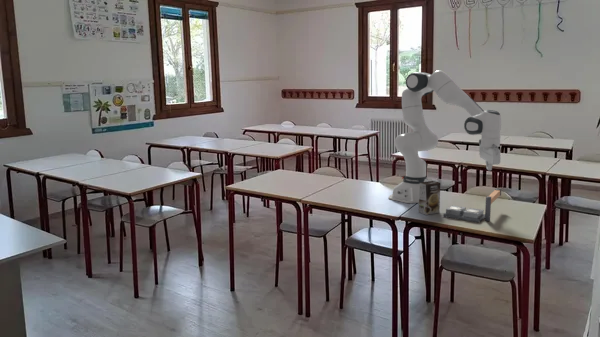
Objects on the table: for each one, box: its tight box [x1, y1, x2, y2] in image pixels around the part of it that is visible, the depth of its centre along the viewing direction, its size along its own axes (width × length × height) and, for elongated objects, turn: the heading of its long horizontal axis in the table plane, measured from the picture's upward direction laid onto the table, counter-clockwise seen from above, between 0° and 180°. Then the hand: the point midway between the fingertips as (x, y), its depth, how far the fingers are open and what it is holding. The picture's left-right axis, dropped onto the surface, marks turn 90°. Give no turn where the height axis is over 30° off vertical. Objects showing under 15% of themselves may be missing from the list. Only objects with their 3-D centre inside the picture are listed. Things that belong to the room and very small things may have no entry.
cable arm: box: [484, 188, 502, 222], centre depth 256 cm, size 24×3×12 cm, turn 147°
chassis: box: [442, 204, 485, 223], centre depth 255 cm, size 18×10×4 cm, turn 51°
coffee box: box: [418, 180, 441, 216], centre depth 264 cm, size 9×6×16 cm
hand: (488, 169), depth 257 cm, fingers closed
